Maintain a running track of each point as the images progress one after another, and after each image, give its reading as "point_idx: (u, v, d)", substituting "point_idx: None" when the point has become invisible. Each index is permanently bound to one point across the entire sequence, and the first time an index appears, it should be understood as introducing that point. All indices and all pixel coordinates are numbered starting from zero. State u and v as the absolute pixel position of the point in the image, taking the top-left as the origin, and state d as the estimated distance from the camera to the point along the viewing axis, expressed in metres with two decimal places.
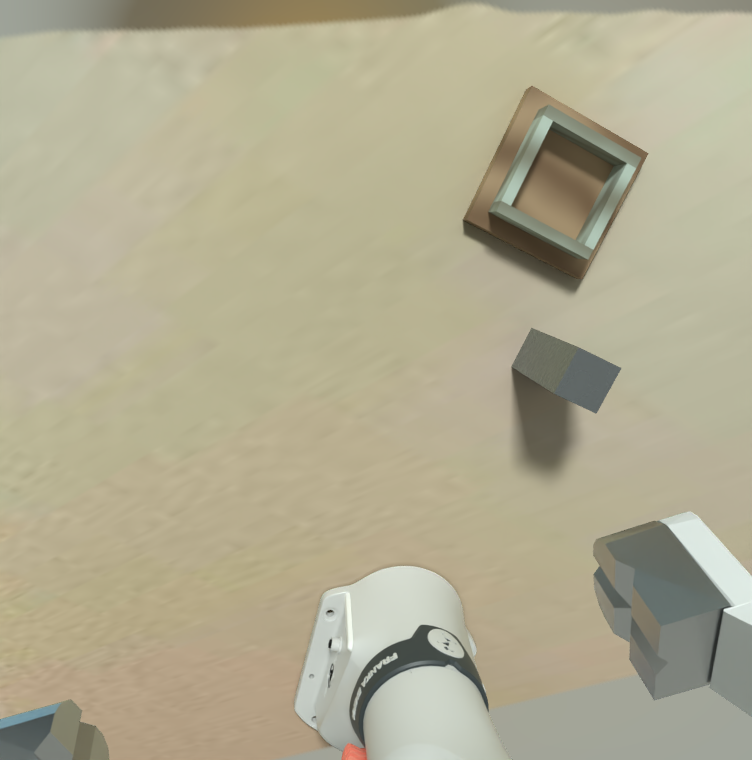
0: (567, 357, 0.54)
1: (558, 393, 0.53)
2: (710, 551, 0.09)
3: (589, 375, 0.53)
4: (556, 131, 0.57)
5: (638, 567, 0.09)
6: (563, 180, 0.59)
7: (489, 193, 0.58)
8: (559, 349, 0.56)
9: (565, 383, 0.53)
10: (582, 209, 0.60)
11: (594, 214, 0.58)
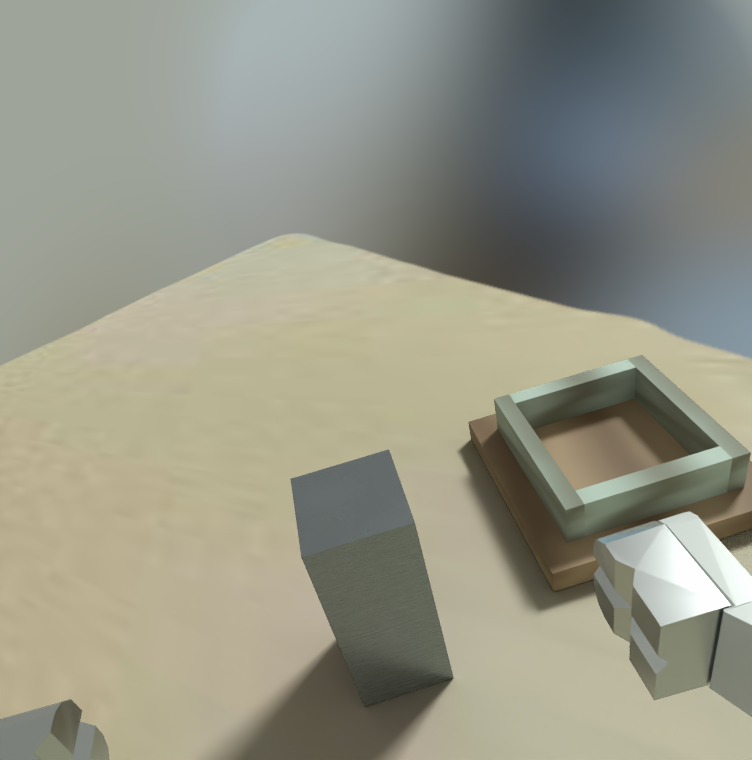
0: None
1: (295, 483, 0.27)
2: (710, 551, 0.09)
3: (360, 493, 0.25)
4: (646, 404, 0.39)
5: (638, 567, 0.09)
6: (621, 453, 0.37)
7: None
8: None
9: (318, 478, 0.26)
10: None
11: None
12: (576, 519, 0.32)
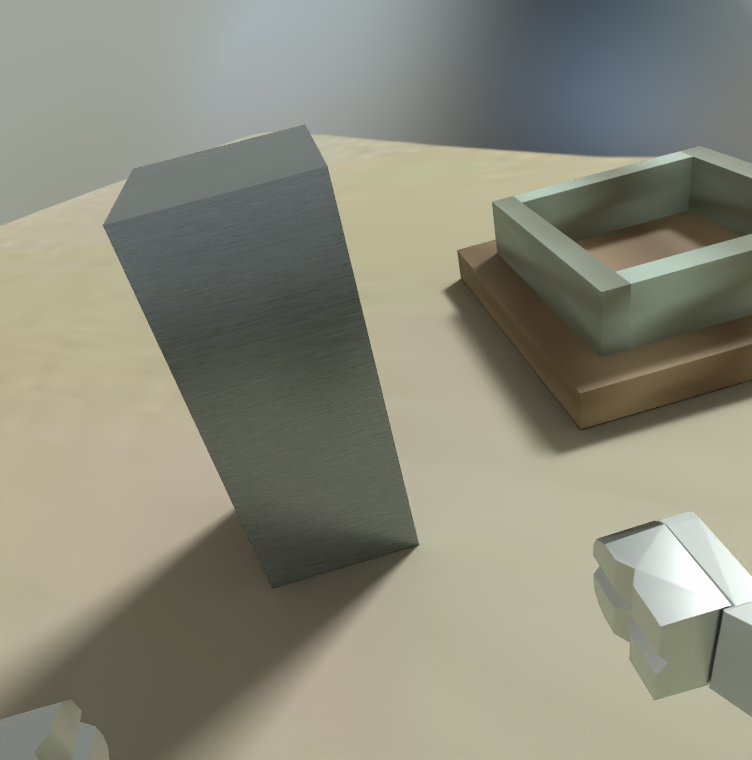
0: None
1: (138, 171, 0.15)
2: (710, 551, 0.09)
3: (240, 160, 0.14)
4: (707, 209, 0.28)
5: (638, 567, 0.09)
6: None
7: None
8: None
9: (178, 161, 0.15)
10: None
11: None
12: (617, 313, 0.20)
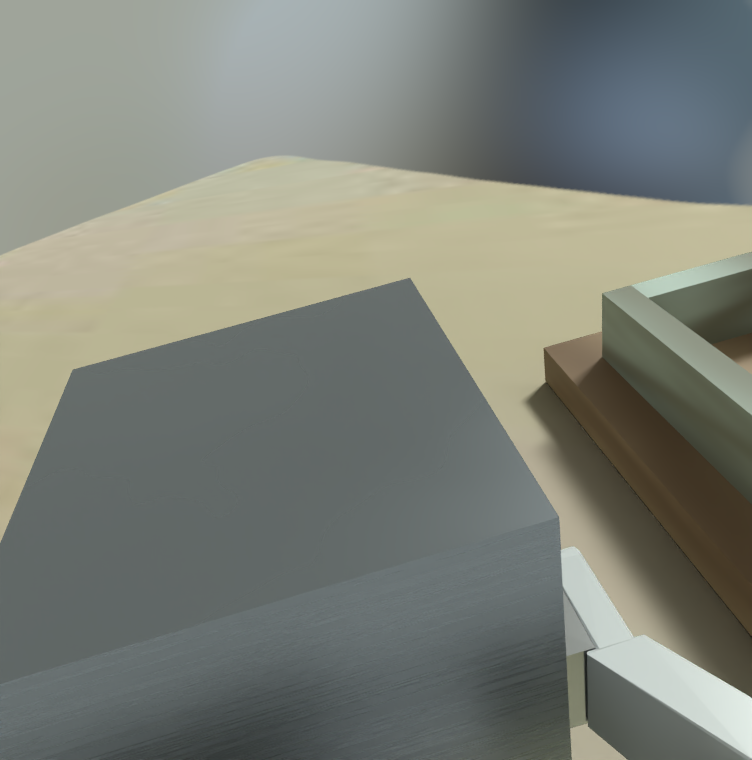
0: None
1: (81, 382, 0.08)
2: (584, 590, 0.08)
3: (297, 403, 0.06)
4: None
5: None
6: None
7: None
8: None
9: (161, 364, 0.07)
10: None
11: None
12: None
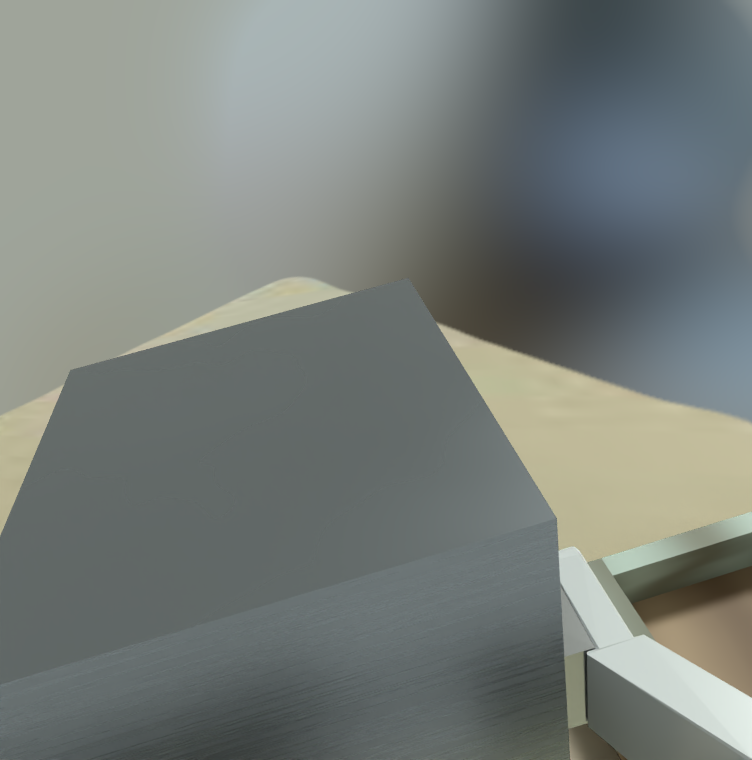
0: None
1: (78, 382, 0.08)
2: (584, 589, 0.08)
3: (295, 403, 0.06)
4: None
5: None
6: None
7: None
8: None
9: (159, 364, 0.07)
10: None
11: None
12: None
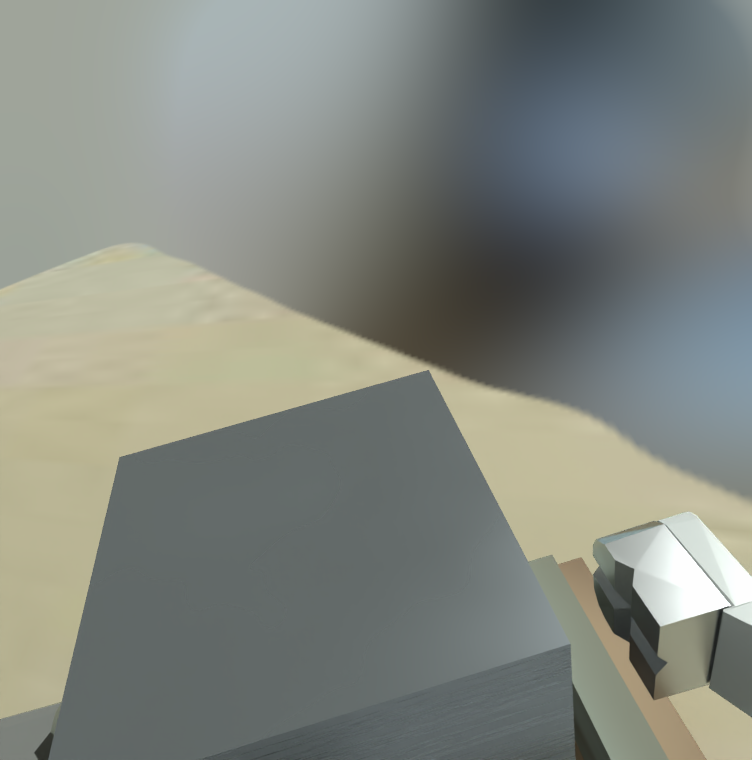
0: None
1: (129, 471, 0.08)
2: (710, 551, 0.09)
3: (332, 507, 0.07)
4: None
5: (638, 567, 0.09)
6: None
7: None
8: None
9: (203, 456, 0.08)
10: None
11: None
12: None
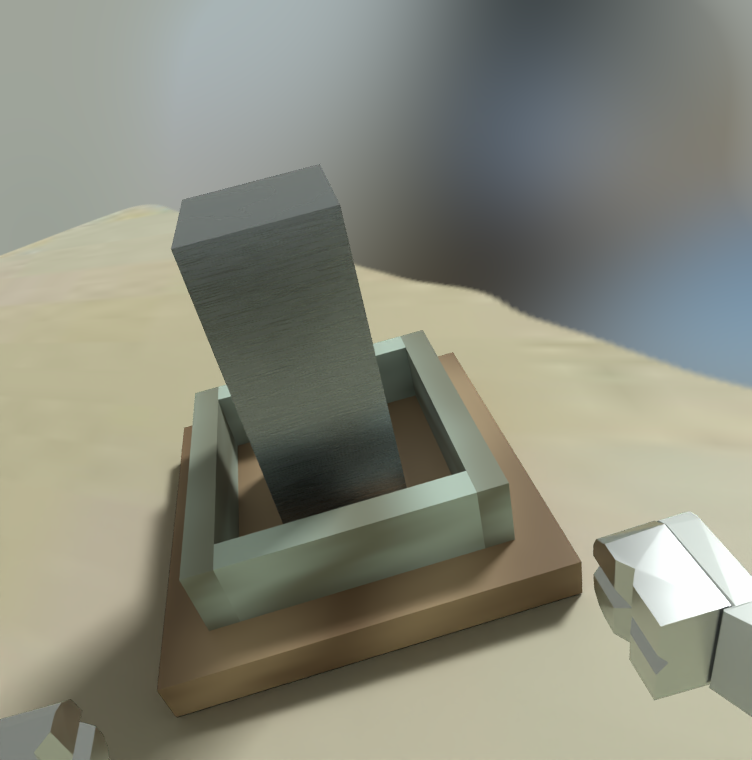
0: None
1: (187, 202, 0.19)
2: (710, 551, 0.09)
3: (270, 196, 0.18)
4: (421, 403, 0.26)
5: (638, 567, 0.09)
6: None
7: None
8: None
9: (219, 194, 0.19)
10: None
11: None
12: (209, 594, 0.19)
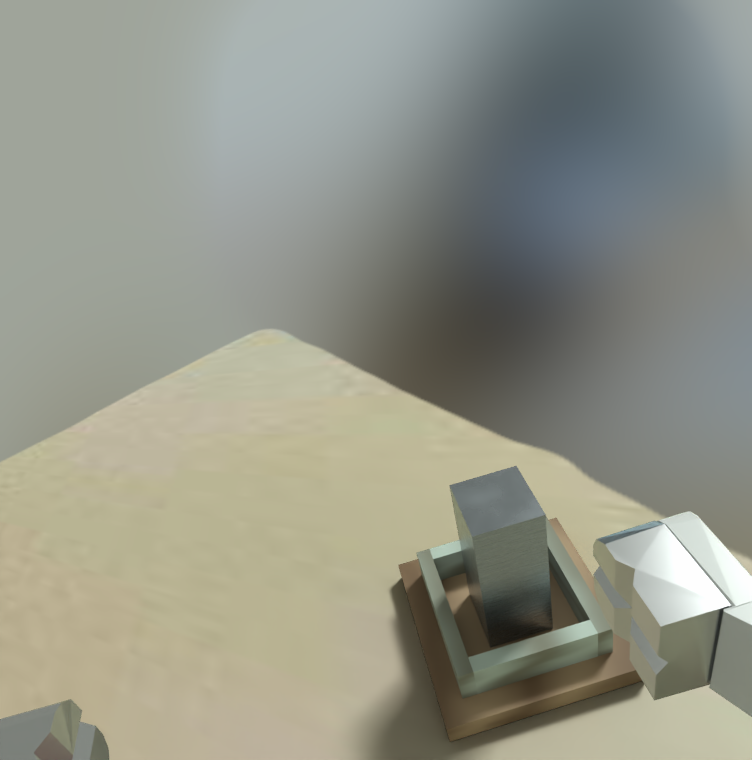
0: None
1: (454, 488, 0.39)
2: (710, 551, 0.09)
3: (502, 495, 0.38)
4: None
5: (638, 567, 0.09)
6: None
7: None
8: None
9: (470, 485, 0.39)
10: None
11: None
12: (468, 682, 0.38)
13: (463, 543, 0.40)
